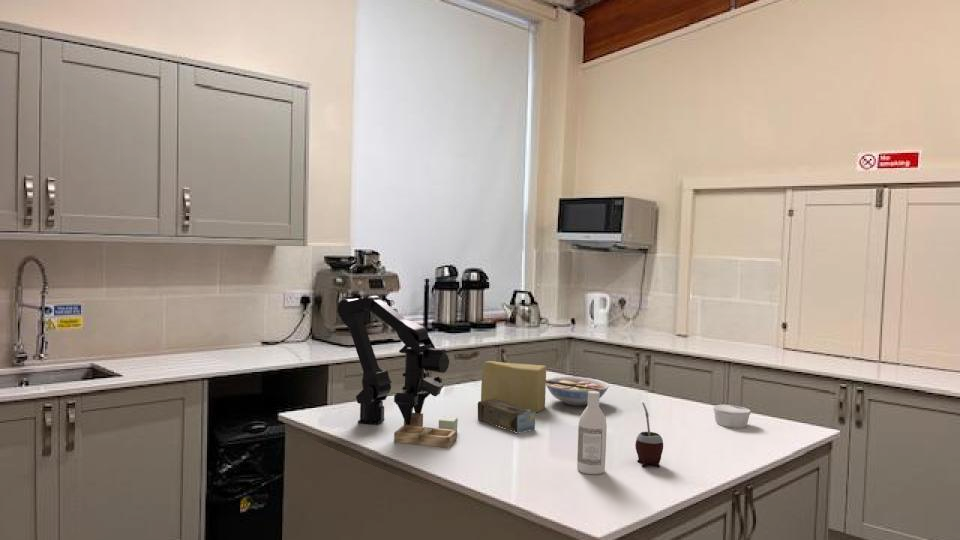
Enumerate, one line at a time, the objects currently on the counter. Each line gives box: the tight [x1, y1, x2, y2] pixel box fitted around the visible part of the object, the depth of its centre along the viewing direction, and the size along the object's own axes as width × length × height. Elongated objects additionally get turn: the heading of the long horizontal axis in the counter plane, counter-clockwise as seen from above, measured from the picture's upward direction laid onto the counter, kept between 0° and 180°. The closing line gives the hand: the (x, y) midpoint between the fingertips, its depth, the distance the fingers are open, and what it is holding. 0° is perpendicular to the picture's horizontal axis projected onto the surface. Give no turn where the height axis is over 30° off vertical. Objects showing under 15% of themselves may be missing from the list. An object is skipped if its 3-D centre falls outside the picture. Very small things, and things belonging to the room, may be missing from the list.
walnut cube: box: [403, 412, 424, 427], centre depth 207 cm, size 4×4×4 cm
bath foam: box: [576, 391, 607, 476], centre depth 174 cm, size 7×7×20 cm
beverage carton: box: [477, 398, 536, 434], centre depth 215 cm, size 8×19×7 cm, turn 39°
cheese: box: [480, 360, 547, 413], centre depth 239 cm, size 22×10×15 cm, turn 69°
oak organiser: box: [393, 424, 458, 448], centre depth 196 cm, size 16×8×3 cm, turn 77°
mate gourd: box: [634, 402, 664, 469], centre depth 181 cm, size 8×8×15 cm
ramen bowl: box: [546, 376, 610, 407], centre depth 246 cm, size 25×23×8 cm
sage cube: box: [438, 416, 459, 431], centre depth 204 cm, size 4×4×4 cm
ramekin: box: [713, 404, 751, 429], centre depth 224 cm, size 11×11×5 cm
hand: (413, 420), depth 207 cm, fingers open, 9 cm apart
